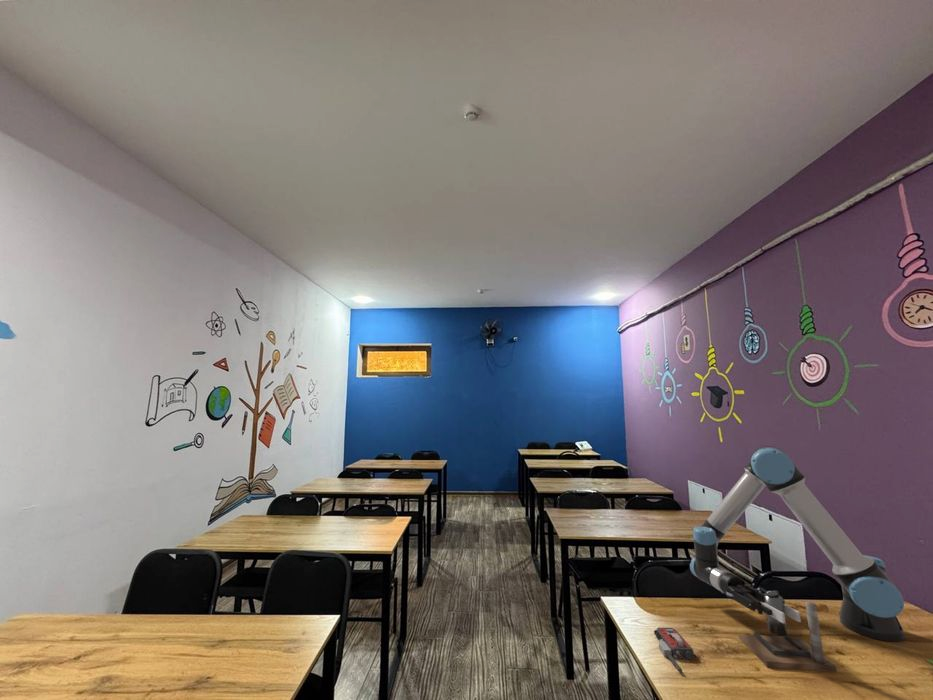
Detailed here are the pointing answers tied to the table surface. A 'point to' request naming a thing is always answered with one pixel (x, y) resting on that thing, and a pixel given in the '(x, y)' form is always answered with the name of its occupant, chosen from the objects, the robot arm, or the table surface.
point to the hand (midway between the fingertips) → (791, 617)
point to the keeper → (792, 646)
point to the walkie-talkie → (673, 645)
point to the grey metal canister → (777, 603)
